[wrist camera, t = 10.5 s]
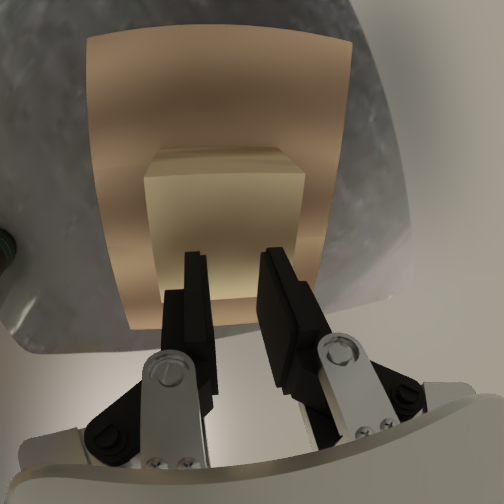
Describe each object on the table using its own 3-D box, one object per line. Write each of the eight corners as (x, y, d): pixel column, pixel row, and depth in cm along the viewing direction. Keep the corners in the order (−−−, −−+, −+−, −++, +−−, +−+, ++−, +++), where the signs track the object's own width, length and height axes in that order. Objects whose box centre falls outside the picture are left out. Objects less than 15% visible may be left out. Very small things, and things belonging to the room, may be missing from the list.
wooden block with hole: (116, 47, 15) (86, 37, 10) (313, 48, 17) (352, 42, 12) (139, 280, 26) (130, 329, 21) (287, 272, 28) (306, 316, 23)
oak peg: (167, 132, 19) (143, 177, 10) (258, 130, 20) (305, 173, 12) (171, 213, 22) (161, 302, 14) (253, 209, 23) (287, 293, 15)
